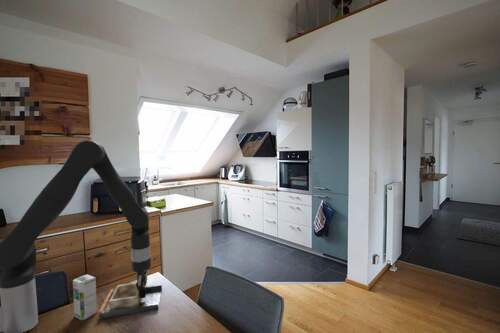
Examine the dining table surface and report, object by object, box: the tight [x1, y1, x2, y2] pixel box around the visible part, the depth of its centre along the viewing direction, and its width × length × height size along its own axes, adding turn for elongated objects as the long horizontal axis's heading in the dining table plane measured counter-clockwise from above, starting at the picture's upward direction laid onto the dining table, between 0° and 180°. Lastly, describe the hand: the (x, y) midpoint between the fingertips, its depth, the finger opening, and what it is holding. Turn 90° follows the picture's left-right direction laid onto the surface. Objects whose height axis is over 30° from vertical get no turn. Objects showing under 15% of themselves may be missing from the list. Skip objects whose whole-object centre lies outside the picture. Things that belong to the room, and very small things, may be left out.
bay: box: [98, 283, 163, 320], centre depth 103 cm, size 21×15×3 cm
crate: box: [109, 282, 141, 310], centre depth 103 cm, size 10×12×5 cm
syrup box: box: [72, 274, 98, 321], centre depth 96 cm, size 6×6×14 cm
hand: (142, 297), depth 104 cm, fingers closed
